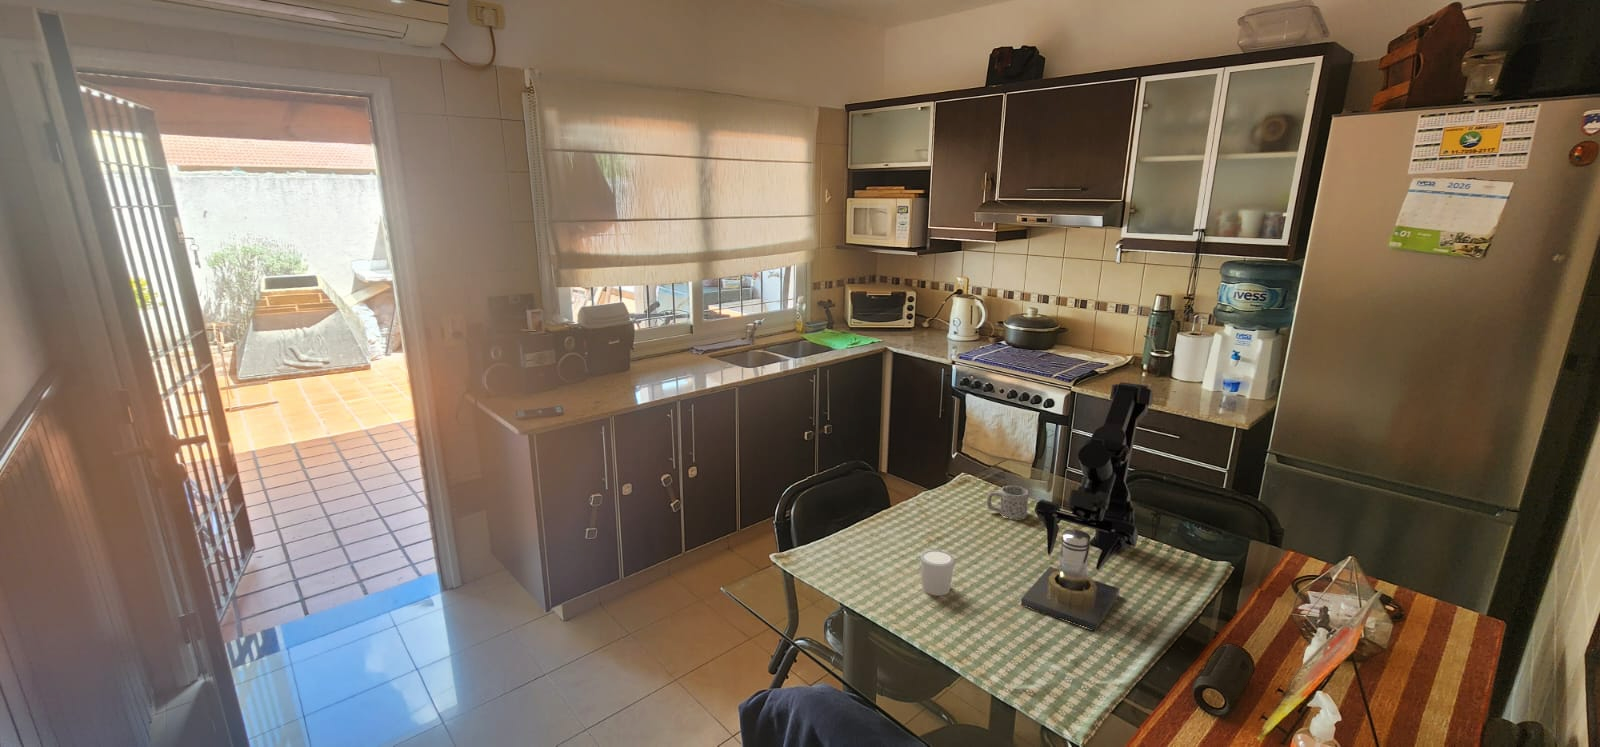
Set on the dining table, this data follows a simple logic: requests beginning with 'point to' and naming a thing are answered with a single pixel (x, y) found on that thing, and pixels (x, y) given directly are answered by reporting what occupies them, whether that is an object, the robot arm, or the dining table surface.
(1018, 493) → the mug
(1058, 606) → the tube holder stand
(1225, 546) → the dining table surface
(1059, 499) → the dining table surface
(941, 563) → the white cylinder
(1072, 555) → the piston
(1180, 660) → the dining table surface
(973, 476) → the dining table surface
